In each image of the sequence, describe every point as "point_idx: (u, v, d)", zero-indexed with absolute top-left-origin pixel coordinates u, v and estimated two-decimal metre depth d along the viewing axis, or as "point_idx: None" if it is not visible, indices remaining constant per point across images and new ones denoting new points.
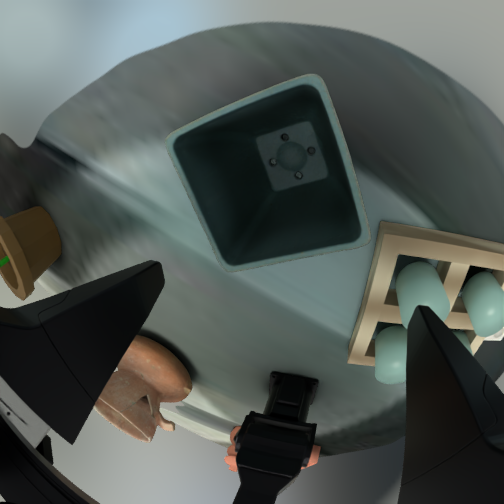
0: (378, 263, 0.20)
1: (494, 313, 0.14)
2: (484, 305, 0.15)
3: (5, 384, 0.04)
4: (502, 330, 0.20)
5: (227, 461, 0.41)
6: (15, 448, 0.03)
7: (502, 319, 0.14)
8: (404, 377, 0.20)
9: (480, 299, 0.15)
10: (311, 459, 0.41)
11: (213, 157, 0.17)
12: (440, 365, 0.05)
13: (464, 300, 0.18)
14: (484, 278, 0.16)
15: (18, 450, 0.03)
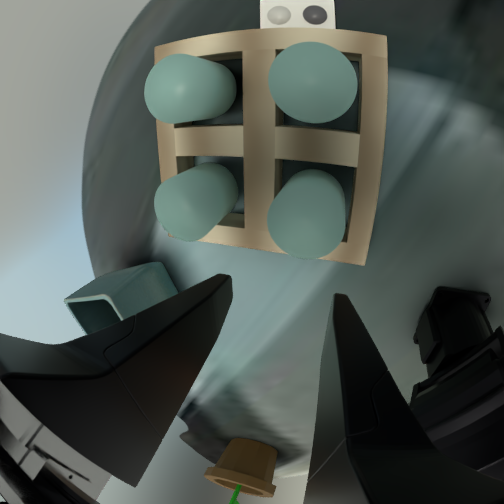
0: None
1: (164, 94, 0.12)
2: (160, 119, 0.13)
3: (63, 443, 0.03)
4: None
5: None
6: None
7: (172, 69, 0.11)
8: (322, 204, 0.13)
9: None
10: None
11: None
12: (334, 355, 0.06)
13: (212, 117, 0.15)
14: None
15: None
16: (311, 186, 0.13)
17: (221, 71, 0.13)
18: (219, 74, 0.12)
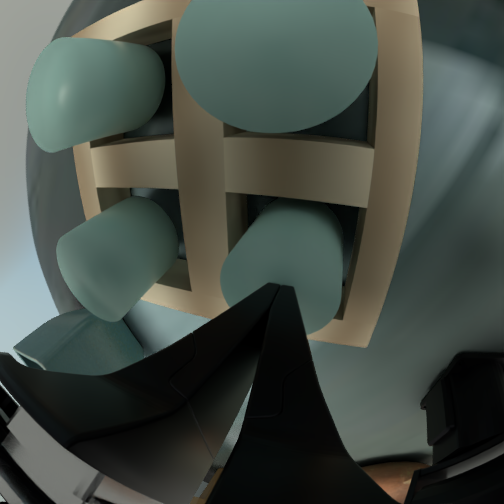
0: None
1: (42, 107, 0.06)
2: (43, 146, 0.07)
3: (123, 487, 0.03)
4: None
5: None
6: None
7: (49, 66, 0.05)
8: (304, 266, 0.08)
9: None
10: None
11: None
12: None
13: (127, 129, 0.09)
14: None
15: None
16: (286, 238, 0.08)
17: (130, 54, 0.07)
18: (122, 59, 0.06)
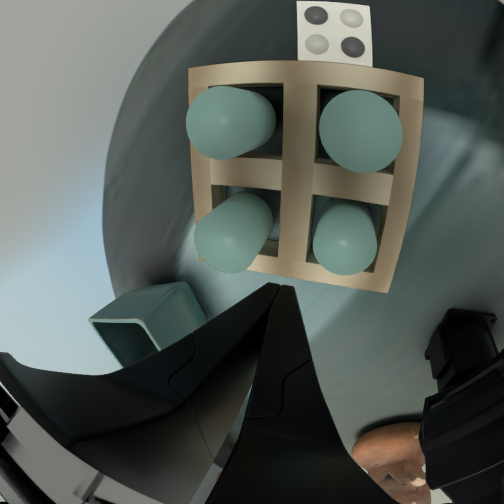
0: None
1: (209, 128, 0.13)
2: (203, 153, 0.14)
3: (123, 487, 0.03)
4: (345, 13, 0.12)
5: None
6: None
7: (218, 103, 0.12)
8: (360, 231, 0.15)
9: None
10: None
11: None
12: None
13: None
14: None
15: None
16: (352, 217, 0.15)
17: (264, 105, 0.14)
18: (264, 109, 0.13)
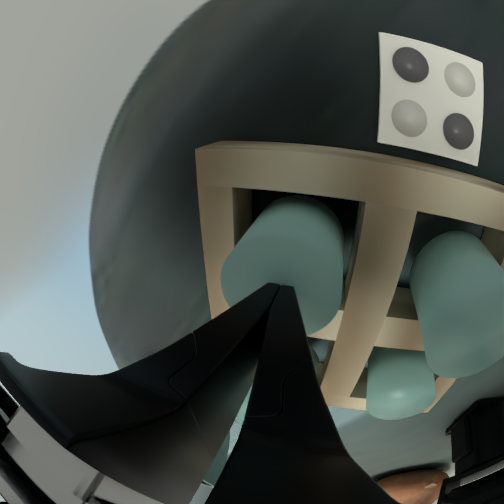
0: None
1: None
2: None
3: (123, 487, 0.03)
4: (452, 69, 0.07)
5: None
6: None
7: (279, 265, 0.08)
8: (422, 392, 0.10)
9: None
10: None
11: None
12: None
13: None
14: None
15: None
16: (419, 382, 0.10)
17: (340, 243, 0.10)
18: (341, 256, 0.09)
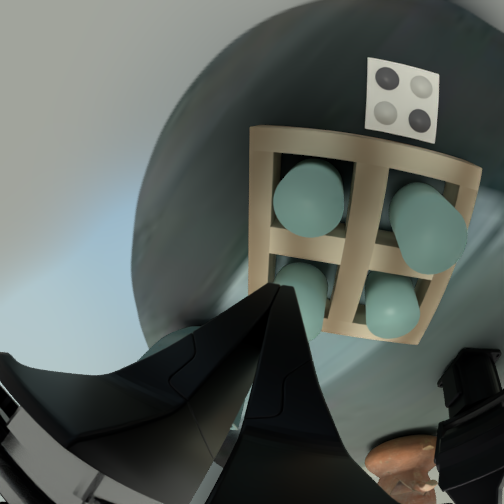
0: None
1: (297, 208, 0.15)
2: (287, 228, 0.16)
3: (123, 487, 0.03)
4: (416, 80, 0.12)
5: None
6: None
7: (309, 186, 0.14)
8: (408, 307, 0.16)
9: None
10: None
11: None
12: None
13: None
14: None
15: None
16: (404, 296, 0.16)
17: (341, 183, 0.16)
18: (342, 189, 0.15)
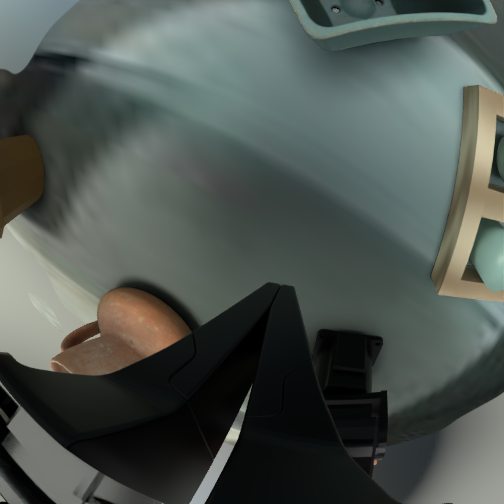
0: (478, 124, 0.10)
1: None
2: None
3: (123, 487, 0.03)
4: None
5: None
6: None
7: None
8: None
9: None
10: None
11: None
12: None
13: None
14: None
15: None
16: None
17: None
18: None
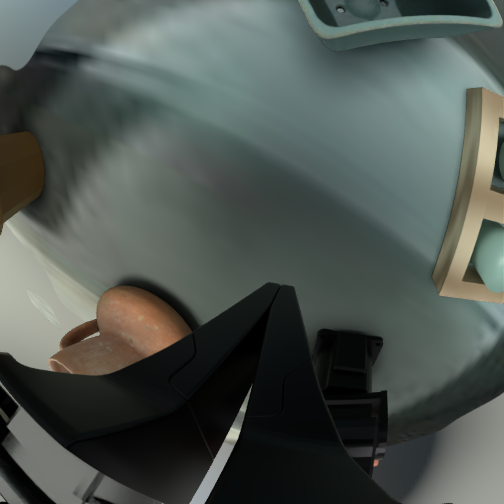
0: (481, 126, 0.10)
1: None
2: None
3: (123, 487, 0.03)
4: None
5: None
6: None
7: None
8: None
9: None
10: None
11: None
12: None
13: None
14: None
15: None
16: None
17: None
18: None
